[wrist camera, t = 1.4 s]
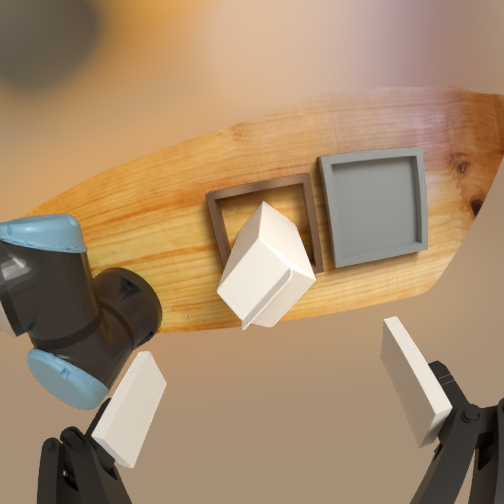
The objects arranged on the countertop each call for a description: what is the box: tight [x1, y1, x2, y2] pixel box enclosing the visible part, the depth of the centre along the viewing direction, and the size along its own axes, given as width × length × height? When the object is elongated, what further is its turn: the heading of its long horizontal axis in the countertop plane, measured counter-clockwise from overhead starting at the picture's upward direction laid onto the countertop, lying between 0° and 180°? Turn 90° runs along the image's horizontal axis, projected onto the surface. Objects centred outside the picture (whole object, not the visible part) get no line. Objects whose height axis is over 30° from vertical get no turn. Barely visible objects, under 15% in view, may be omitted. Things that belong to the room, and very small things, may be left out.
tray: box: [318, 147, 428, 268], centre depth 37 cm, size 16×16×2 cm
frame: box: [205, 173, 324, 274], centre depth 39 cm, size 14×14×3 cm
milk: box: [217, 201, 316, 331], centre depth 30 cm, size 6×6×22 cm
